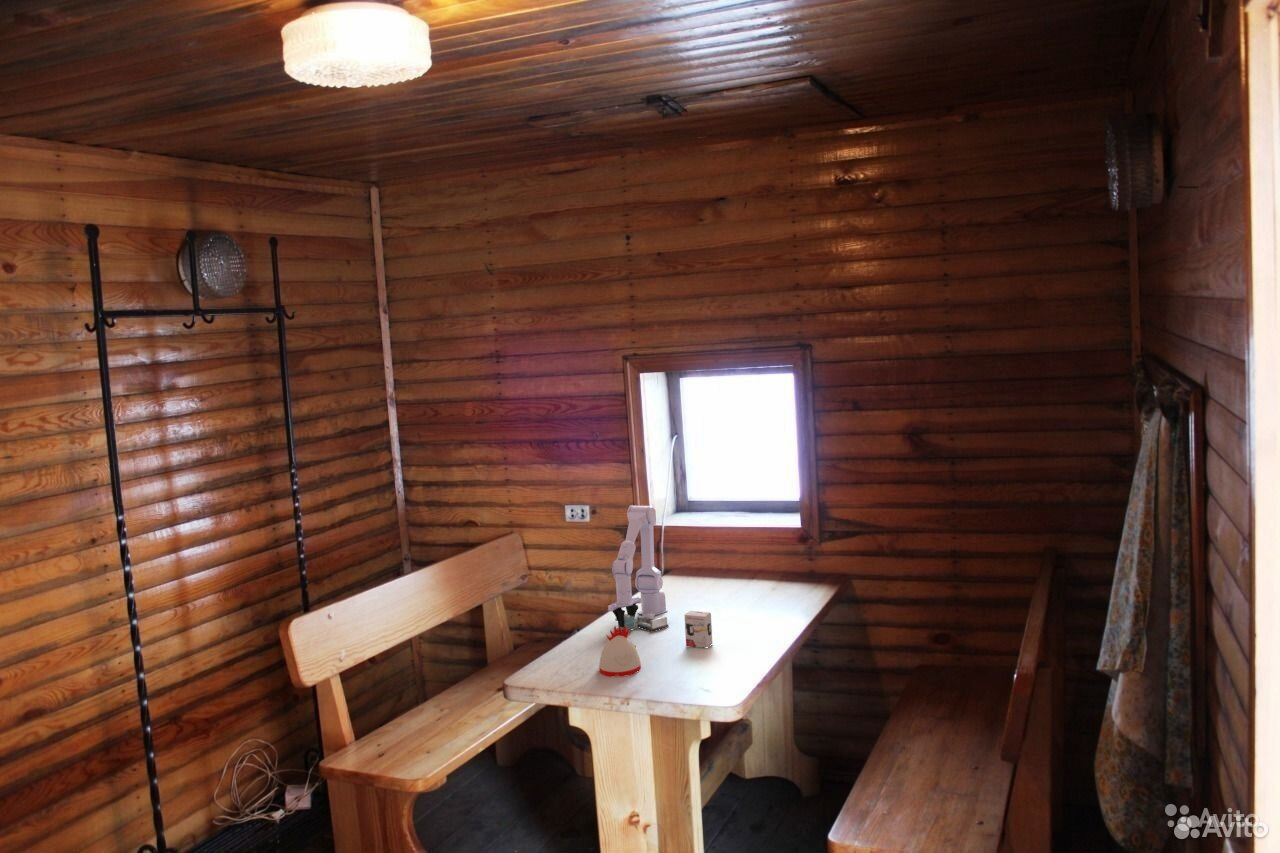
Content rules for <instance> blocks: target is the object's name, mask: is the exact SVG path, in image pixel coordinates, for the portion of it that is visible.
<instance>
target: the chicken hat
mask: <svg viewBox="0 0 1280 853" xmlns="http://www.w3.org/2000/svg"><path fill="white" fill-rule="evenodd" d="M613 628H614V629H613V631H612V630H611V629H610V630H609V633H610V635H611V636H609V635H608V634H605V635H606V637H607V641H606V642H605V644H604V646H603V647H602V650H601V655H600V659H599V665H598V667H599V672H600V674H601V675H603V676H606V677H612V676H621V677H626V676H625V675H628V676H631V675H630V674H632V675H634V674H633V673H635V672H637V671H639V670H640V669H642V665H641V659H640V658H641V657H640V656H639V654H638V649H636V647H637V646H636V645H635V644H634V643H633V642H632V641H631V640H630V639H629V638H628V637H629V634H630V628H629V629H628V630H627V631H626V626H625V625H624V628H623V631H622V630H621V628H620V626H619V629H618V628H617V627H616V626H614V627H613ZM640 671H641V670H640ZM640 671H639V672H640ZM637 673H638V672H637ZM635 674H636V673H635Z"/></svg>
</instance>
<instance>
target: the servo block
mask: <svg viewBox="0 0 1280 853" xmlns="http://www.w3.org/2000/svg"><path fill="white" fill-rule="evenodd" d="M614 620H615V621H616V622H618V621H617V618H616V617H615V619H614ZM635 623H638V619H635V618H634V616H631V615H627V613H625V614H624V625H625V626H626V631H627V630H628V629H629V628H630V630H631V629H634V628H635V627H636V625H635ZM620 628H621V631H622V630H623V628H624V627H623V628H622V627H620ZM618 629H619V624H618V623H617V630H618ZM635 629H636V628H635ZM635 629H634V630H635ZM631 631H632V630H631Z"/></svg>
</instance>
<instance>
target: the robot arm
mask: <svg viewBox="0 0 1280 853" xmlns="http://www.w3.org/2000/svg"><path fill="white" fill-rule="evenodd" d="M626 516H627V520H628V526H627V531H626V536H625V540H624V541H623V542H621V544H620V547H619V550H618V553H617V557H616V559H615V560H613V562H612V565H611V572H612V574H613V579H614V580H615V589H616V590H615V591H616V602H613V603H611V604H610V605H607V611H609V612H612V613H613V615H614V616H615V618H617V621H616V622H617V625H618V624H619V626H620V627H622V628H623V627H624V614H627V615H631V616H634V619H635V617H636V614H638V613H639V614H638V615H641V614H642V615H641V616H643V615H646V614H650V613H654V616H657V615H661V614H663V613H668V610H667V605H666V602H667V601H666V594H665V591H664V590H662V588H663V586H664V584H663V582H664V580H663V577H662V571H661V570H660V569H658V568H657V567H656V566H655V544H654V543H655V541H654V539H655V538H654V534H655V533H654V526H656V525H657V511H656V509H655V507H654V506H653V505H633V504H630V505H629V506H628V509H627V512H626ZM639 532H640V547H641V548H640V549H641V550H640V551H641V552H640V554H641V556H640V558H641V561H640V562H641V567H640V568H639V569H638V570H636V573H635V580H634V583H635V585H634V586H635V588H636V590H638V592H639V593H640V597H633V596H632V595H633V594H632V593H633V592H632V577H631V576H632V575H631V574H632V572H633V570H634V559H633V558H634V556H635V552H636V548H637V547H636V544H635V542H636V540H637V537H638V535H639ZM638 604H641V611H638V609H639V605H638ZM623 608H625V610H624V609H623Z"/></svg>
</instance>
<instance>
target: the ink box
mask: <svg viewBox="0 0 1280 853" xmlns="http://www.w3.org/2000/svg"><path fill="white" fill-rule="evenodd" d="M684 630H685V631H684V632H685V647H686V646H693V647H692V648H696V647H709V646H710V645H711V644H713V626H712V613H711V612H708V611H700V610H698V611H697V610H696V611H695V610H689V611H688V612H686V613H685V614H684ZM710 647H711V646H710ZM710 647H709V648H710Z"/></svg>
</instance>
